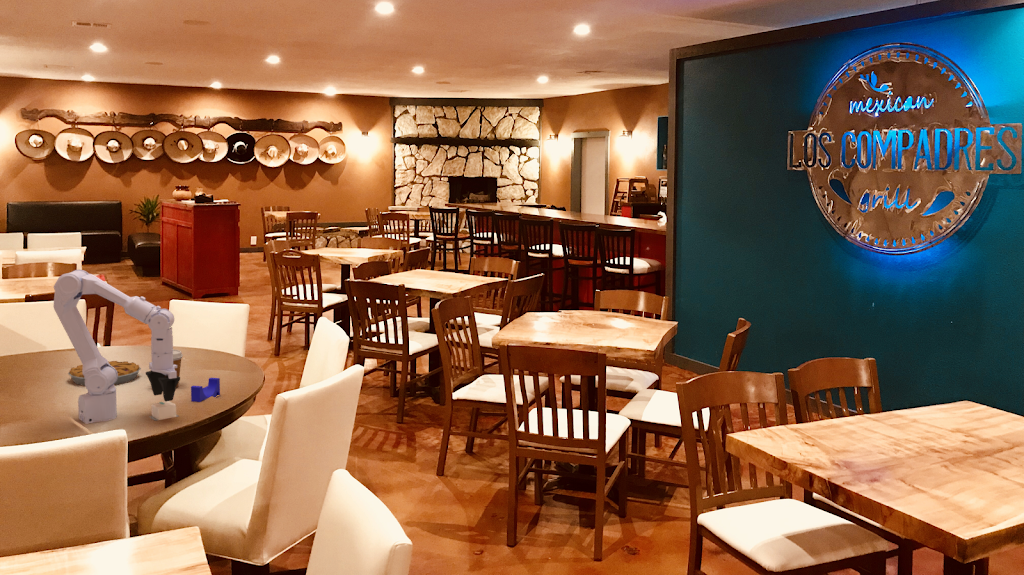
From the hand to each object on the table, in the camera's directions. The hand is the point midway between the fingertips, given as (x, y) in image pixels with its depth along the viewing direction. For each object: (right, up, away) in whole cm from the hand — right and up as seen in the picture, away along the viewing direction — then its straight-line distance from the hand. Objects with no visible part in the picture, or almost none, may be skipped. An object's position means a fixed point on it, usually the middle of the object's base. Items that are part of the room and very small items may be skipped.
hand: (163, 397), depth 233 cm
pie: (-39, 0, +43) cm, 58 cm away
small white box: (0, -6, +1) cm, 6 cm away
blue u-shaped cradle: (+3, -4, +23) cm, 23 cm away
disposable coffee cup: (-14, -2, +36) cm, 38 cm away
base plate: (0, -7, +1) cm, 7 cm away
